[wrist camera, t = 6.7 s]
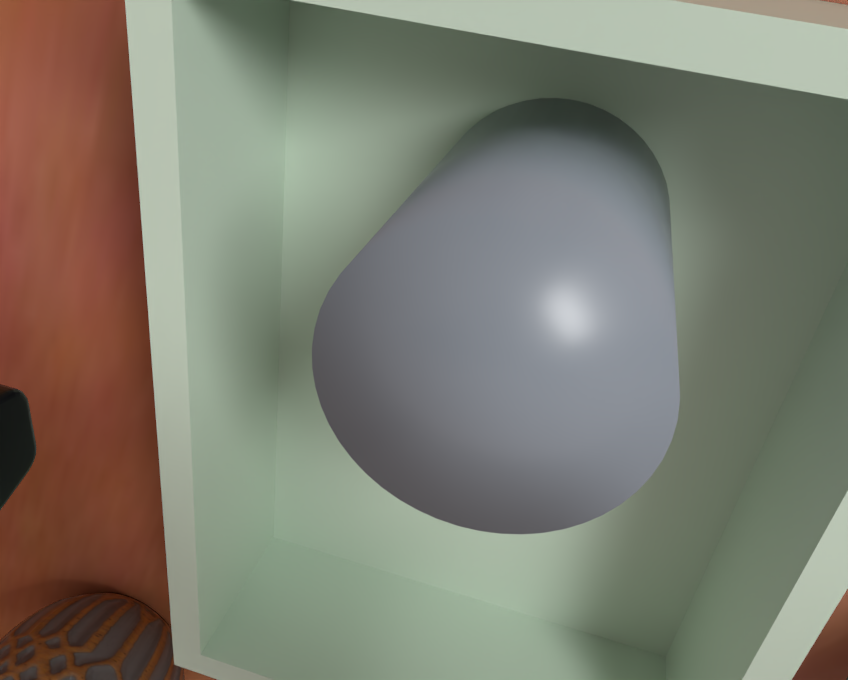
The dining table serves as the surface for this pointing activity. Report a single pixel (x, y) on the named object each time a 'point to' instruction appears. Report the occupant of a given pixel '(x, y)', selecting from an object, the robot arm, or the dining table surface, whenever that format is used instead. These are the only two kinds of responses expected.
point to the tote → (364, 216)
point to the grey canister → (512, 327)
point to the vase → (90, 642)
